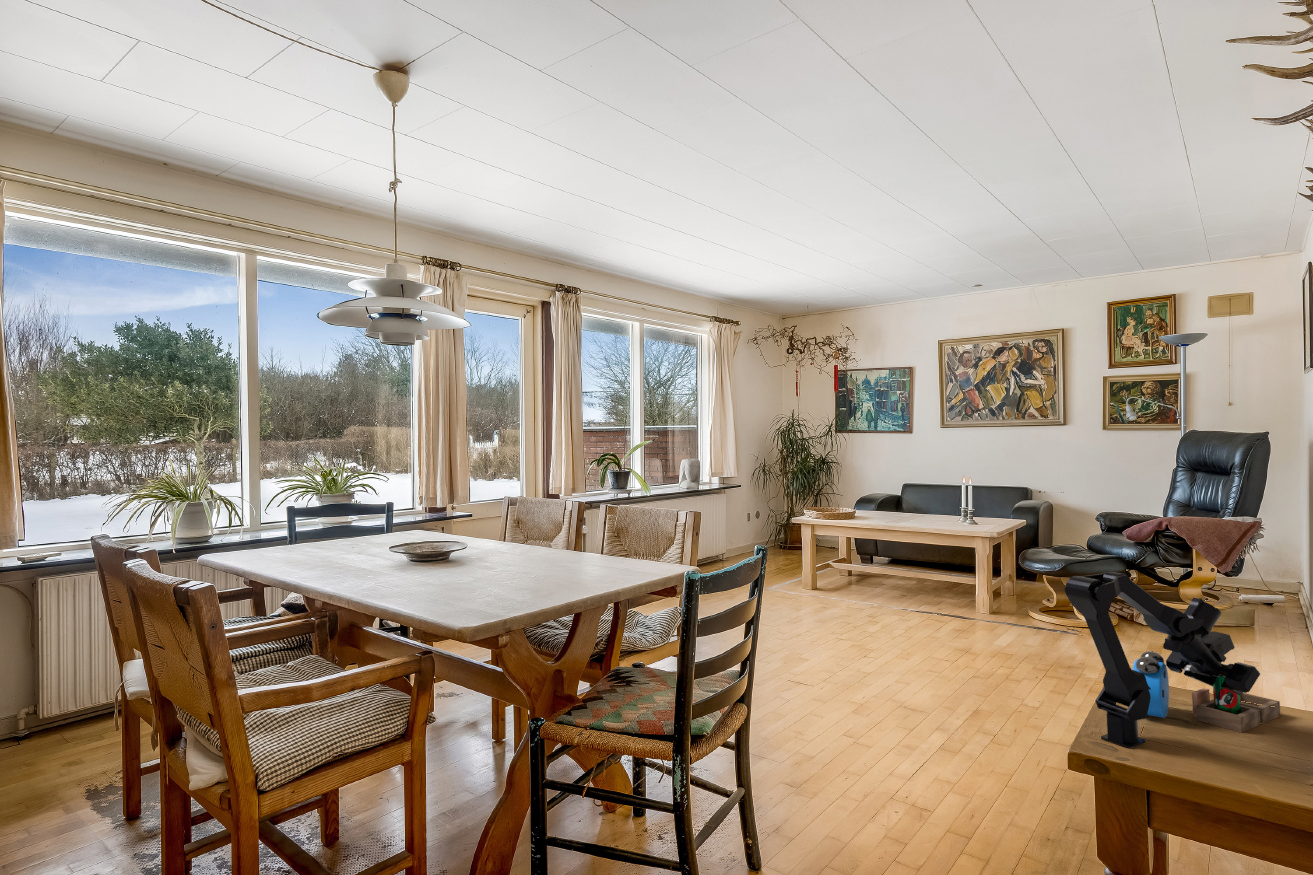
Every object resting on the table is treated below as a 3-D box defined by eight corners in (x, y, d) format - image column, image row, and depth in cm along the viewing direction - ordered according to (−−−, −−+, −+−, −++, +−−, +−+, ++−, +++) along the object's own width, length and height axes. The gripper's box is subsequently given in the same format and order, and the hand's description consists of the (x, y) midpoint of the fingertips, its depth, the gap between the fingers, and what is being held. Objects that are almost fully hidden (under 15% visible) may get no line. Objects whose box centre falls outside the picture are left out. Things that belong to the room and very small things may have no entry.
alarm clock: (1142, 704, 181) (1139, 646, 181) (1171, 709, 176) (1168, 650, 177) (1132, 720, 171) (1129, 658, 171) (1163, 726, 167) (1160, 662, 167)
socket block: (1241, 732, 162) (1240, 706, 162) (1189, 718, 171) (1188, 693, 171) (1280, 715, 170) (1279, 690, 170) (1229, 702, 180) (1228, 679, 180)
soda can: (1247, 722, 165) (1244, 671, 166) (1228, 724, 165) (1224, 673, 165) (1228, 715, 170) (1225, 665, 171) (1209, 716, 170) (1206, 666, 170)
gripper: (1251, 631, 158) (1290, 675, 161) (1172, 614, 176) (1208, 653, 179) (1227, 670, 156) (1266, 714, 158) (1149, 648, 174) (1185, 688, 177)
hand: (1230, 690), depth 168 cm, fingers closed on soda can, 5 cm apart
